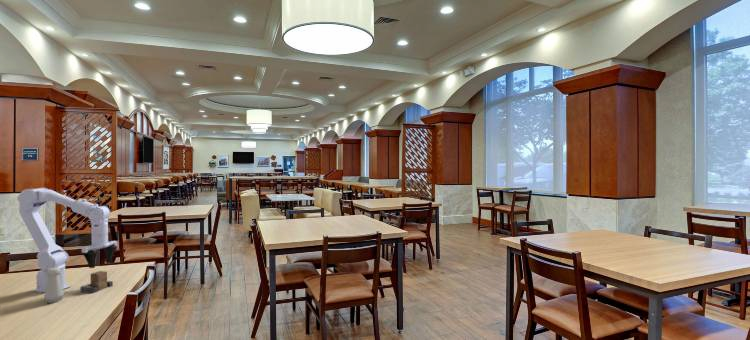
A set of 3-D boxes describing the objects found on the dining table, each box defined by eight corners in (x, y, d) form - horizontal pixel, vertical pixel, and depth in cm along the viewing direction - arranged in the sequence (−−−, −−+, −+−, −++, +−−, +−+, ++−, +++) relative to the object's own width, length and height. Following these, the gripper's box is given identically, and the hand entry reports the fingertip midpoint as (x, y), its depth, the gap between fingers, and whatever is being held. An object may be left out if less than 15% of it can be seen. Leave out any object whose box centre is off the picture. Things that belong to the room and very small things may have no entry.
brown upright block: (90, 290, 155) (90, 273, 155) (99, 287, 159) (99, 271, 159) (98, 290, 154) (98, 274, 154) (107, 287, 158) (107, 271, 158)
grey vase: (52, 304, 139) (51, 270, 139) (40, 303, 140) (39, 270, 140) (67, 298, 145) (67, 266, 144) (56, 297, 146) (55, 265, 146)
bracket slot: (80, 291, 153) (80, 286, 153) (99, 284, 161) (99, 280, 161) (94, 292, 152) (94, 287, 152) (112, 285, 160) (112, 281, 160)
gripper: (91, 238, 151) (91, 270, 151) (122, 231, 165) (122, 261, 165) (77, 237, 152) (78, 269, 153) (109, 231, 166) (109, 260, 167)
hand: (100, 265), depth 159 cm, fingers open, 7 cm apart
